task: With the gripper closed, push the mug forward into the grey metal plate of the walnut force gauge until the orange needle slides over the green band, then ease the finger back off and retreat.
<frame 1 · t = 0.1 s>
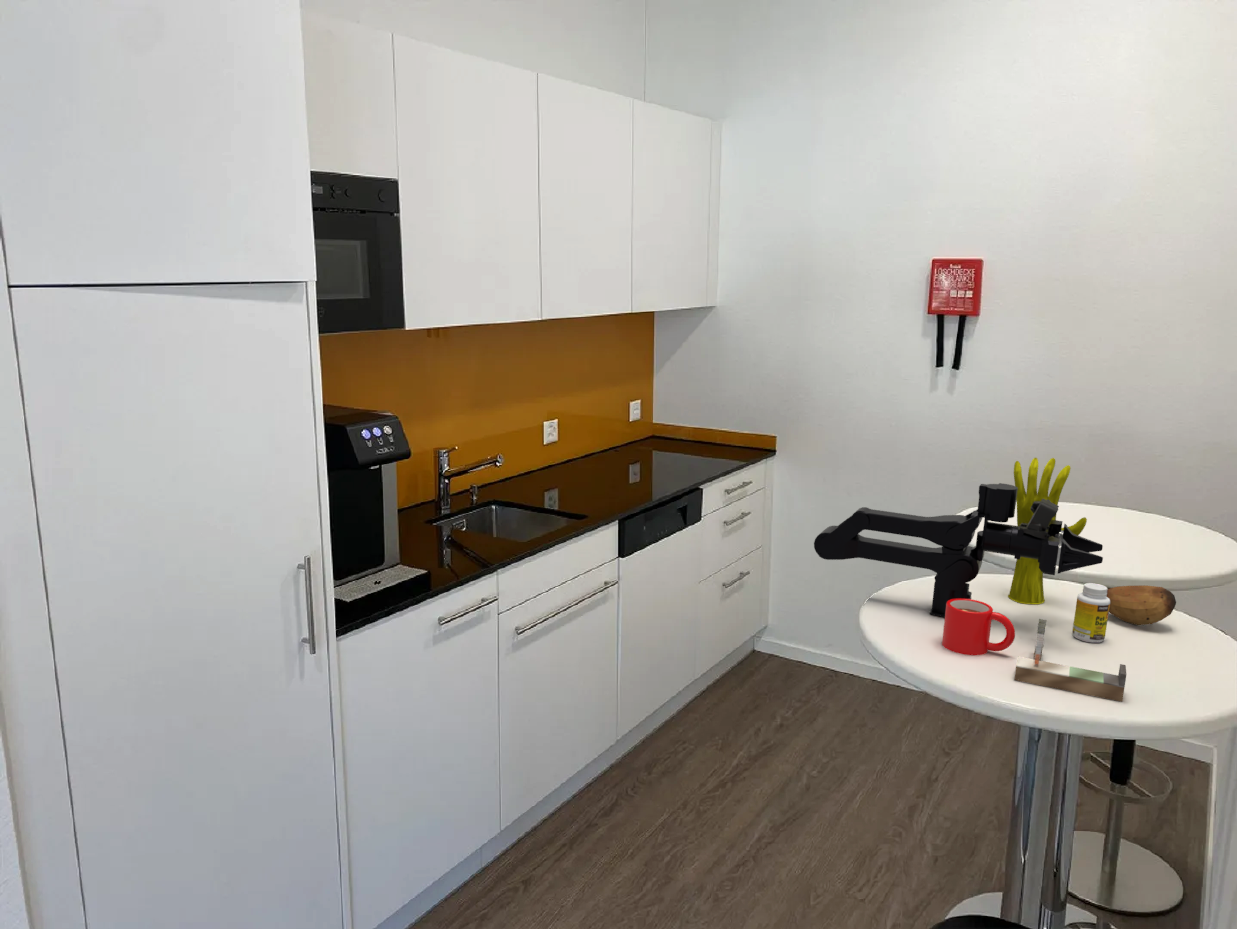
hand: (1102, 553, 175), 17 cm above the table, tool horizontal, fingers open, 9 cm apart
potato: (1133, 624, 188), on the table
gauge rail: (1067, 685, 157), on the table
supplement bottle: (1087, 639, 179), on the table
mug: (976, 650, 171), on the table
grey flat piece: (1038, 648, 164), point 3 cm above the table, slide at 0.0 cm
glove: (1035, 601, 199), on the table
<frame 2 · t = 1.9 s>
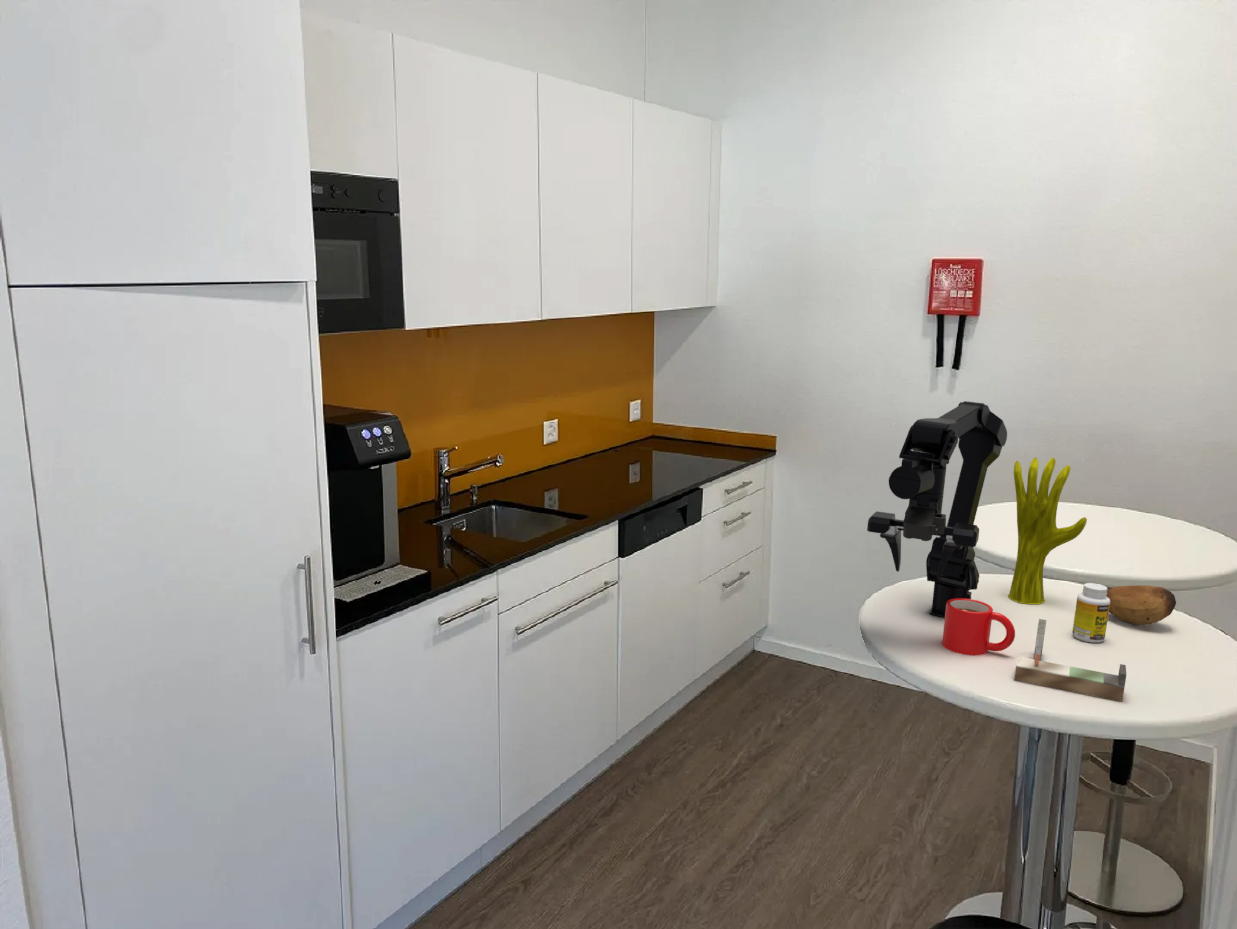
hand: (918, 574, 174), 12 cm above the table, tool pointing down, fingers open, 7 cm apart
nothing on the table moved.
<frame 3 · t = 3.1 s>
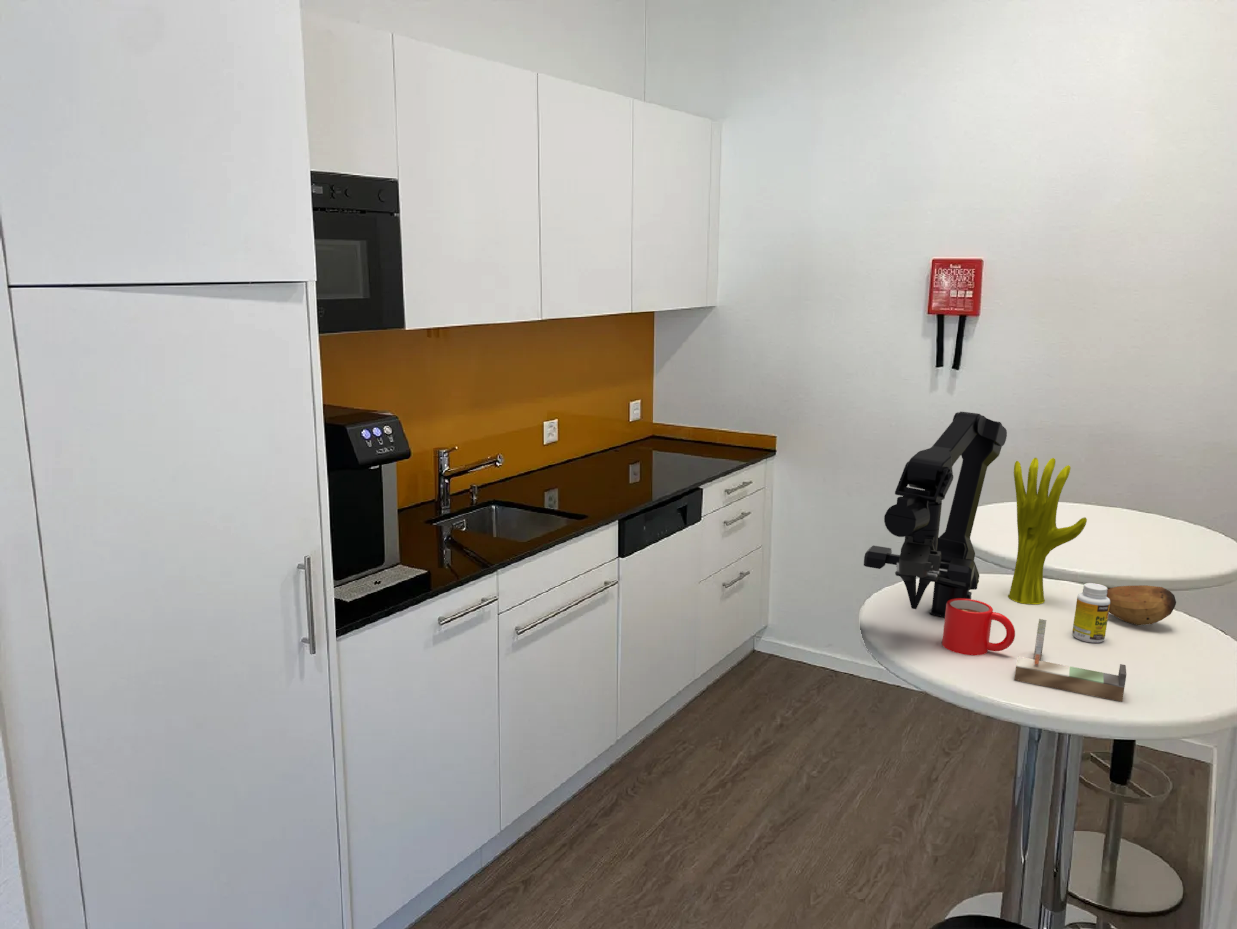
hand: (914, 608, 175), 5 cm above the table, tool pointing down, fingers closed
nothing on the table moved.
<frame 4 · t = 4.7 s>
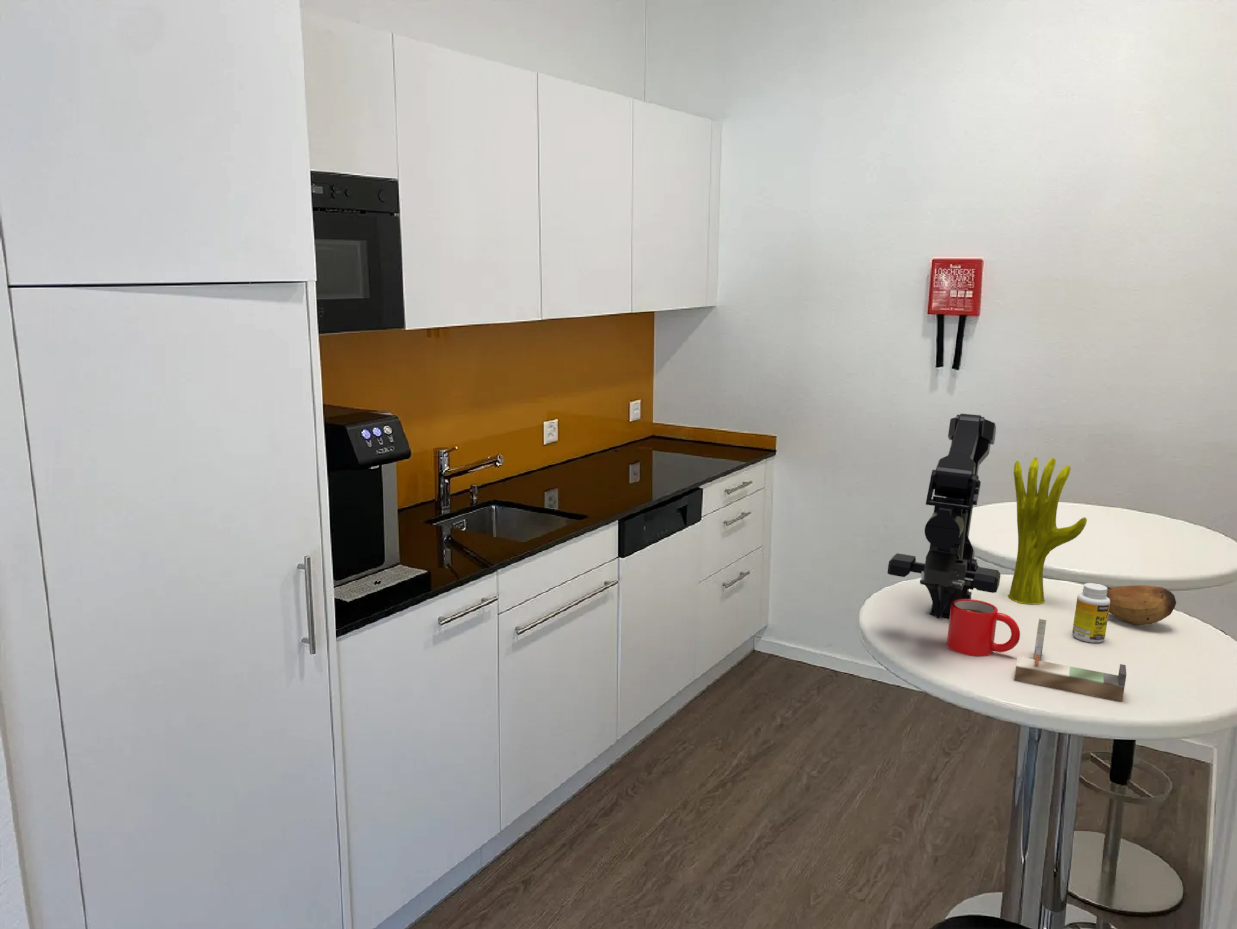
hand: (938, 617, 173), 5 cm above the table, tool pointing down, fingers closed
mug: (981, 651, 171), on the table, touching gripper
everything else where it was.
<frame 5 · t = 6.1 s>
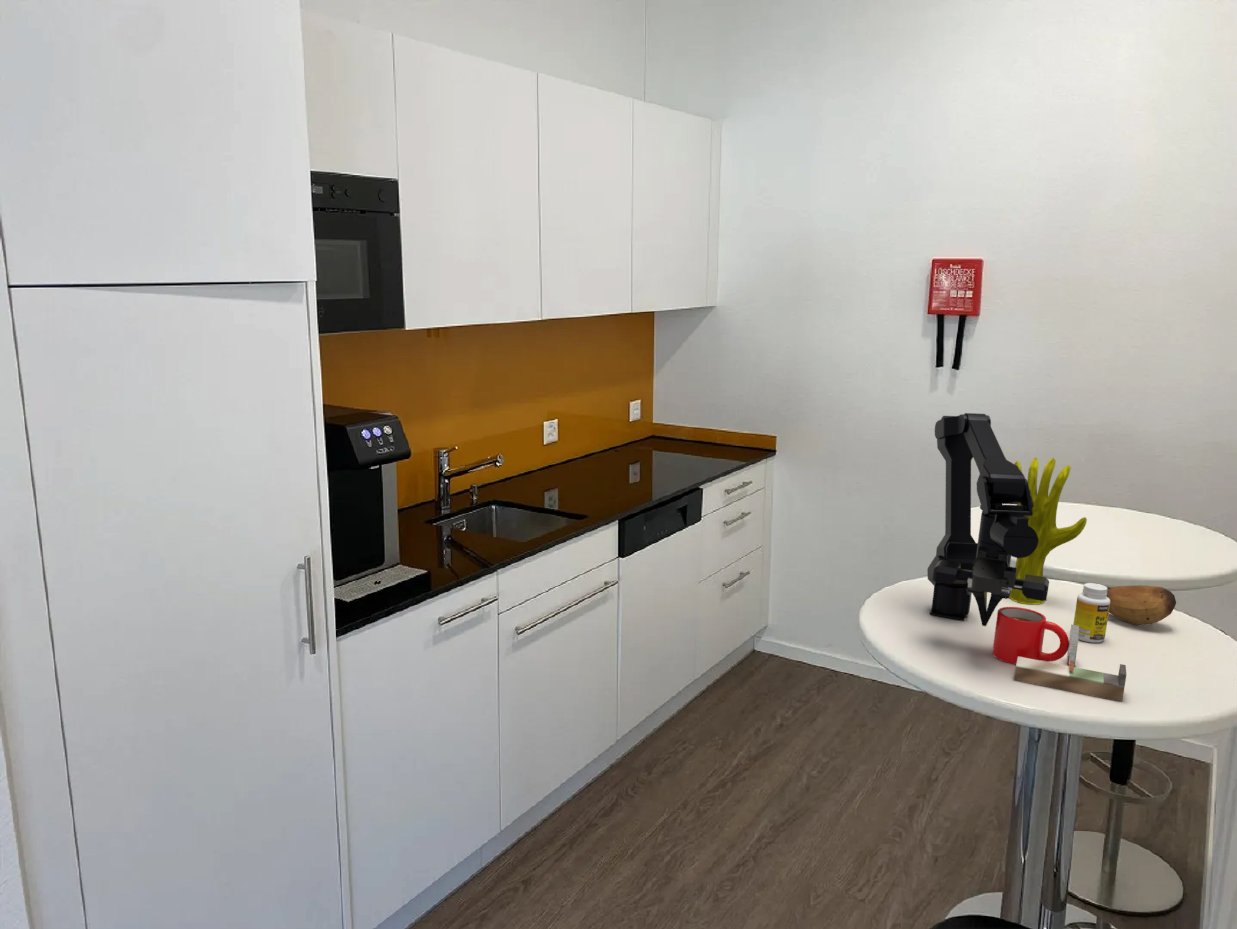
hand: (984, 625, 170), 5 cm above the table, tool pointing down, fingers closed
mug: (1028, 660, 167), on the table, touching gripper
grey flat piece: (1072, 654, 162), point 3 cm above the table, slide at 5.2 cm
everything else where it was.
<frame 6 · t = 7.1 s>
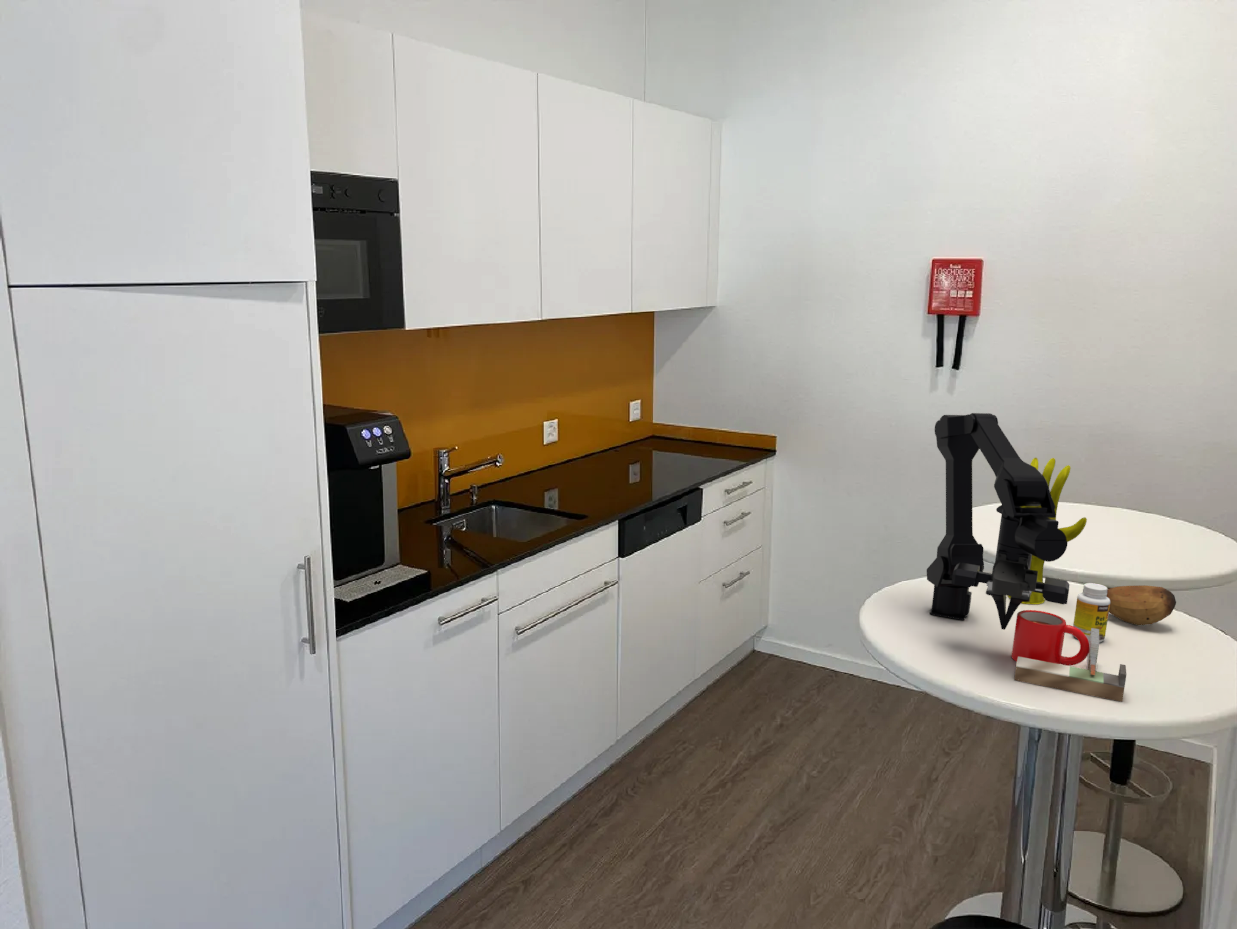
hand: (1003, 629, 169), 5 cm above the table, tool pointing down, fingers closed
mug: (1048, 664, 166), on the table, touching gripper, grey flat piece
grey flat piece: (1092, 658, 160), point 3 cm above the table, slide at 8.4 cm, touching mug
everything else where it was.
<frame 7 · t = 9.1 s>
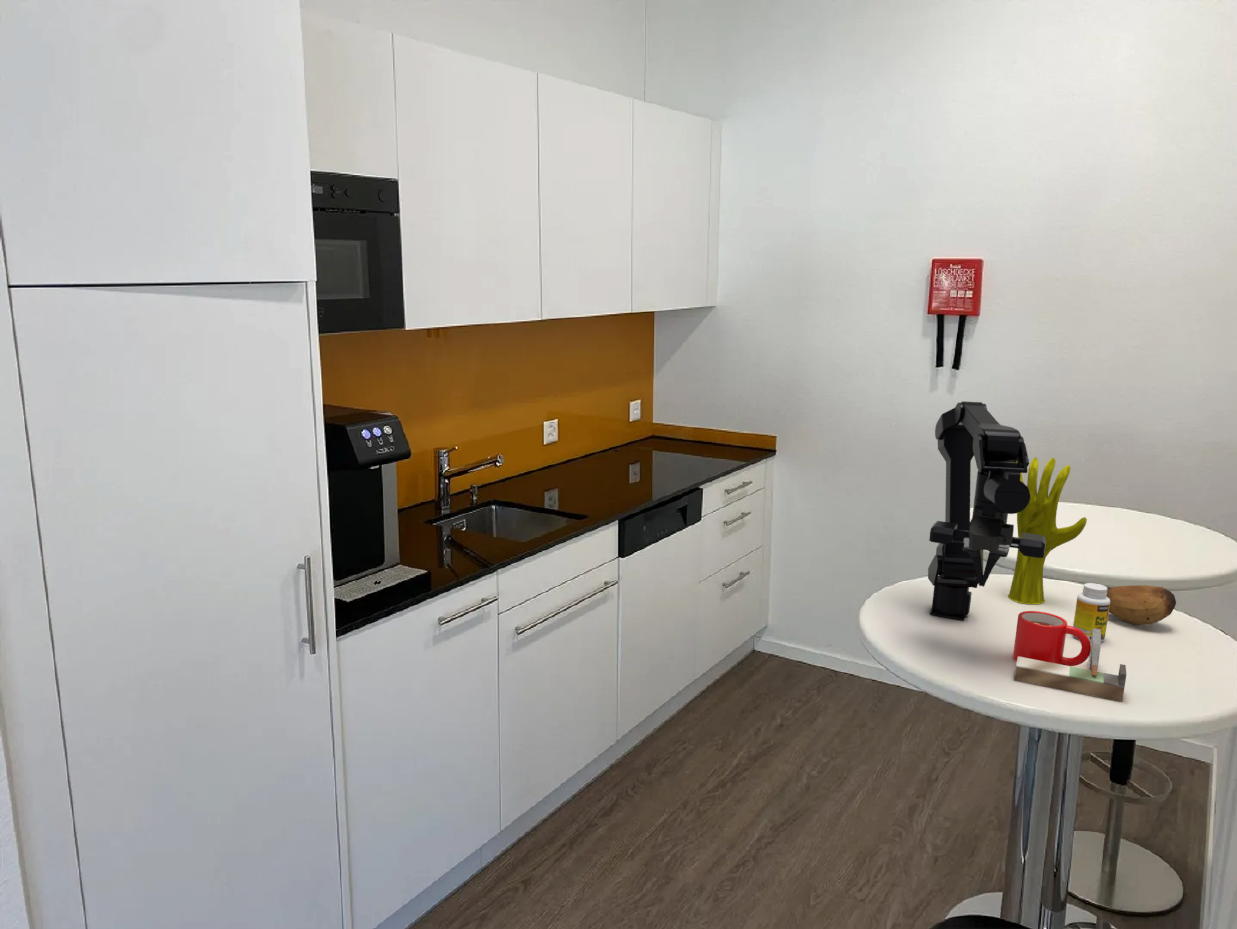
hand: (981, 585, 169), 12 cm above the table, tool pointing down, fingers closed
mug: (1049, 665, 166), on the table
grey flat piece: (1094, 659, 160), point 3 cm above the table, slide at 8.6 cm
everything else where it was.
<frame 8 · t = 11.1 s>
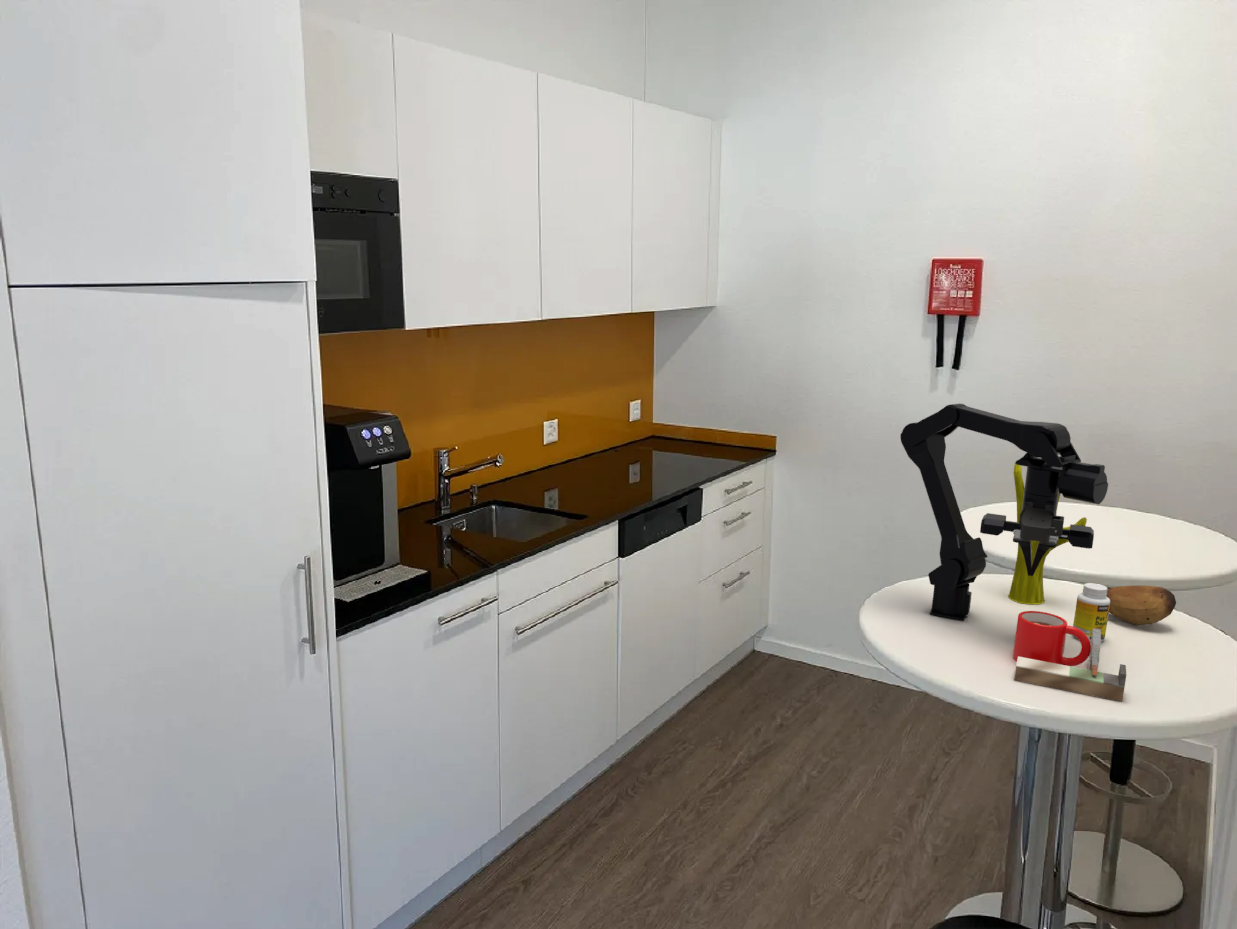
hand: (1030, 575, 176), 12 cm above the table, tool pointing down, fingers closed
nothing on the table moved.
at the end: grey flat piece slide at 8.6 cm; mug moved 12.0 cm from its start; mug tilted 0° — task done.
